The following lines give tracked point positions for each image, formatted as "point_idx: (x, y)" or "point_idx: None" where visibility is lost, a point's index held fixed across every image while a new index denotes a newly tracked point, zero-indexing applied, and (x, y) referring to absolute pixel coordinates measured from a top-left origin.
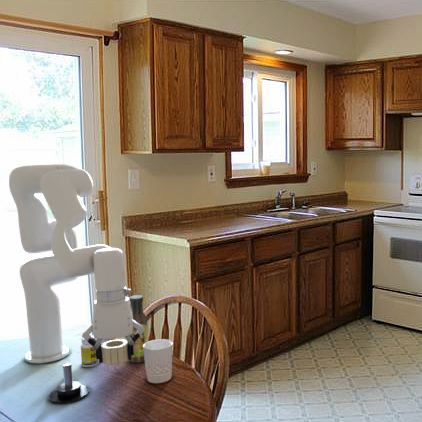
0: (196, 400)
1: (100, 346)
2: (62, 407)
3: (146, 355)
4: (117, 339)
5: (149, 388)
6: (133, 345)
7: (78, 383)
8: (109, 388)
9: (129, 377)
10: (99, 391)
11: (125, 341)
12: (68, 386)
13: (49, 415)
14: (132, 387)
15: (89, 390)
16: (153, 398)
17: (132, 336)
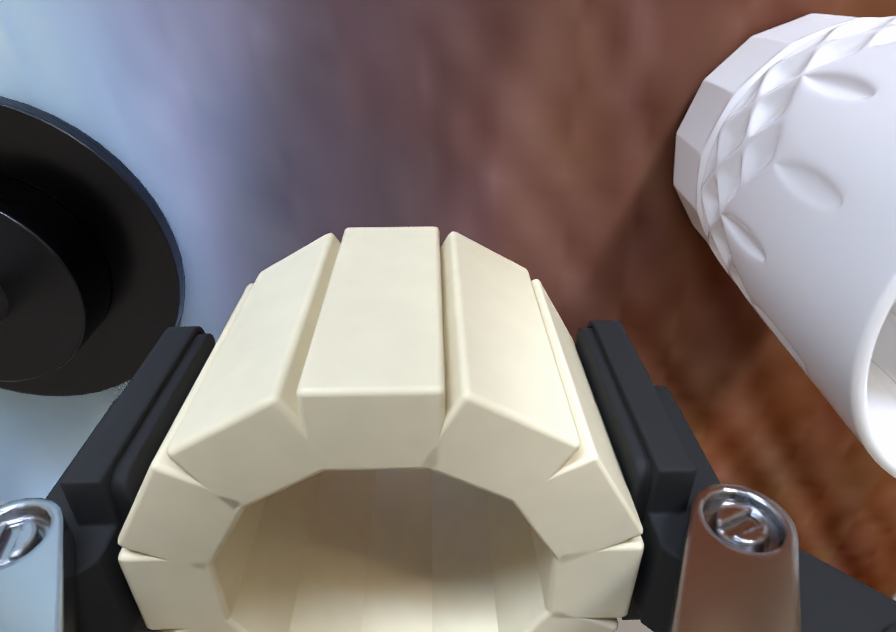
0: (882, 513)
1: (133, 612)
2: (69, 424)
3: (805, 370)
4: (419, 408)
5: (660, 307)
6: (709, 472)
7: (39, 261)
8: (339, 222)
9: (510, 15)
10: (264, 256)
11: (597, 544)
12: None
13: (36, 492)
14: (532, 255)
15: (173, 244)
16: None
17: (791, 613)
